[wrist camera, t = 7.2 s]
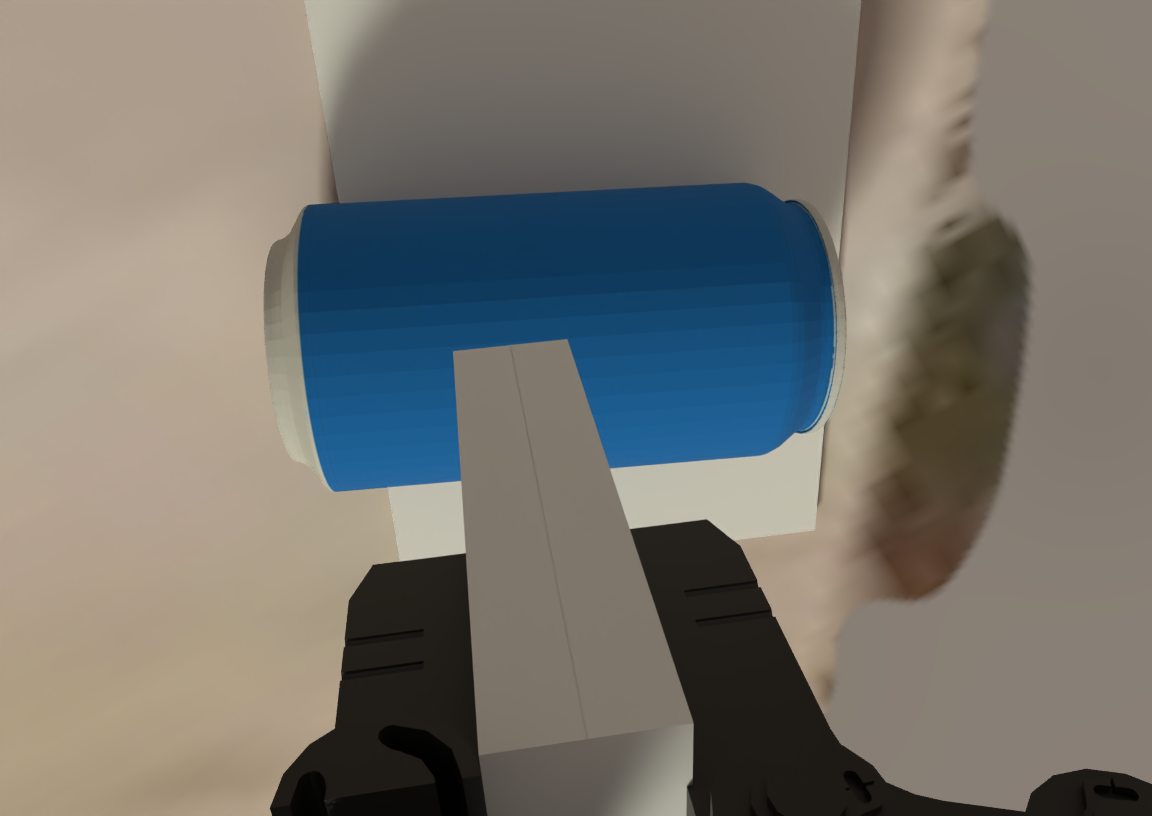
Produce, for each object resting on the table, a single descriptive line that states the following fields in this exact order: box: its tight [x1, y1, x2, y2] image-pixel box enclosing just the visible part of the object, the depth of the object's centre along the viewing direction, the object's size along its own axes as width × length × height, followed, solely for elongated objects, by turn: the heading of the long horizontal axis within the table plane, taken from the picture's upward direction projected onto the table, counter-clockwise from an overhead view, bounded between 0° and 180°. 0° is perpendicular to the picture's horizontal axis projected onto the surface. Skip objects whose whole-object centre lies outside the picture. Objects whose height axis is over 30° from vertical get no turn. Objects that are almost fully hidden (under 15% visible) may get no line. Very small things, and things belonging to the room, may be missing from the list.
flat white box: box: [304, 0, 861, 561], centre depth 24 cm, size 22×13×1 cm, turn 3°
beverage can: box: [264, 183, 846, 492], centre depth 22 cm, size 6×6×12 cm
